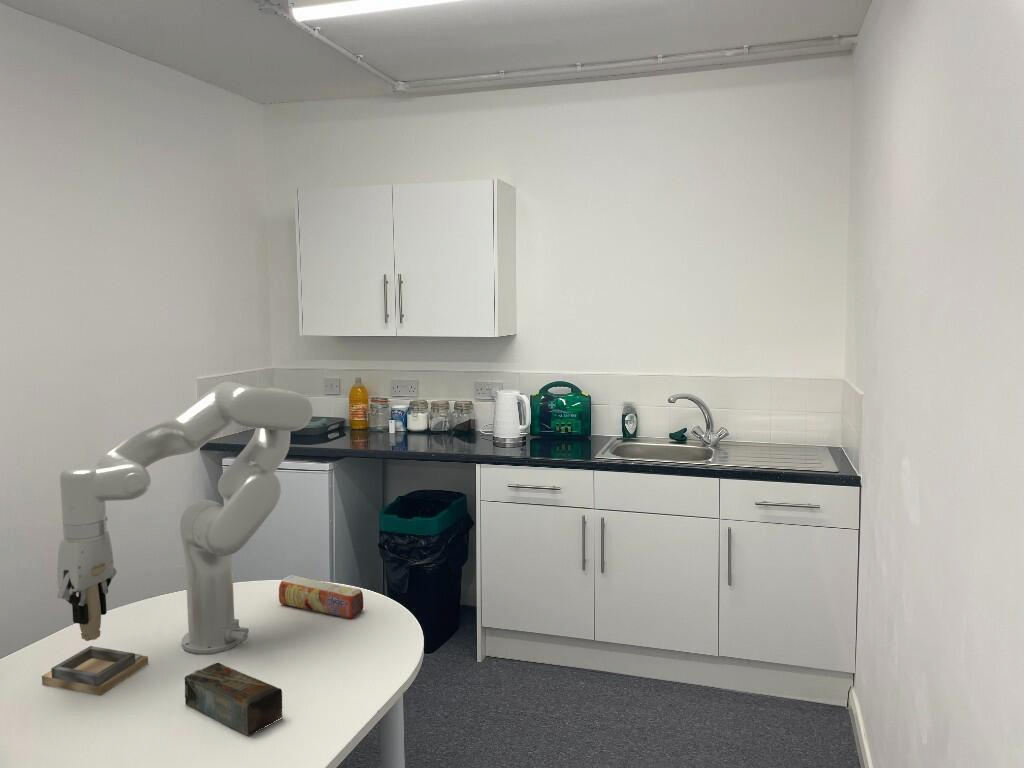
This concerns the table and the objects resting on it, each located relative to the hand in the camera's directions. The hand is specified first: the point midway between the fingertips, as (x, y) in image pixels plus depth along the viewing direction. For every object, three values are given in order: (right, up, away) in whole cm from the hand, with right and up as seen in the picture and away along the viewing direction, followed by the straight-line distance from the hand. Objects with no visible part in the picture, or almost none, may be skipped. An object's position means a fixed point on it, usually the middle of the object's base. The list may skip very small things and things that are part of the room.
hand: (90, 617), depth 163 cm
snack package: (+37, -9, +37) cm, 53 cm away
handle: (0, -4, +1) cm, 4 cm away
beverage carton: (+31, -15, -9) cm, 36 cm away
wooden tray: (-1, -13, +4) cm, 13 cm away
